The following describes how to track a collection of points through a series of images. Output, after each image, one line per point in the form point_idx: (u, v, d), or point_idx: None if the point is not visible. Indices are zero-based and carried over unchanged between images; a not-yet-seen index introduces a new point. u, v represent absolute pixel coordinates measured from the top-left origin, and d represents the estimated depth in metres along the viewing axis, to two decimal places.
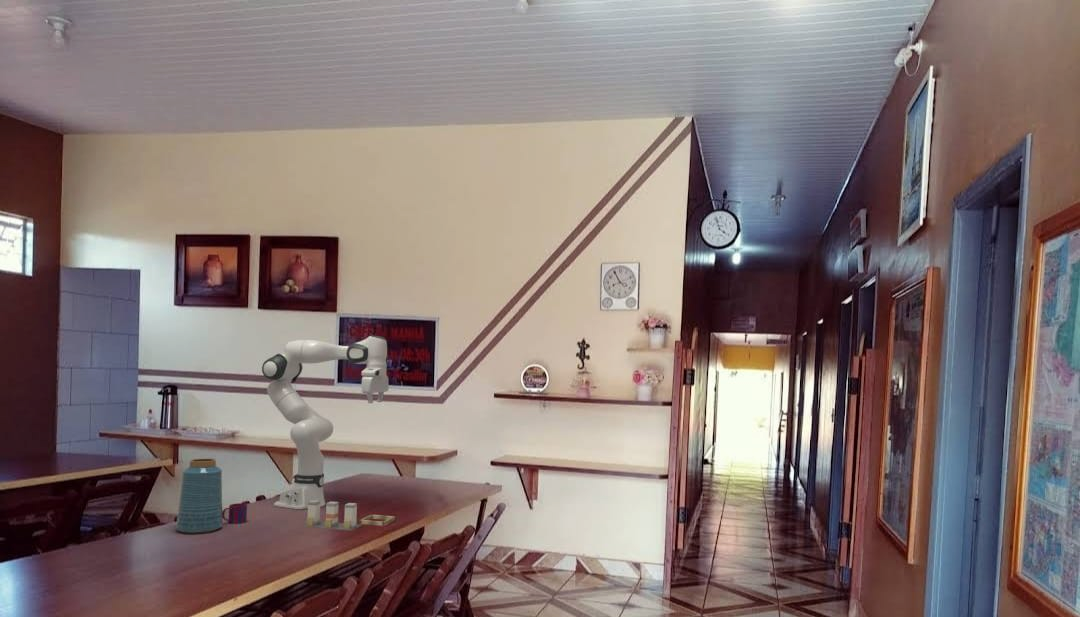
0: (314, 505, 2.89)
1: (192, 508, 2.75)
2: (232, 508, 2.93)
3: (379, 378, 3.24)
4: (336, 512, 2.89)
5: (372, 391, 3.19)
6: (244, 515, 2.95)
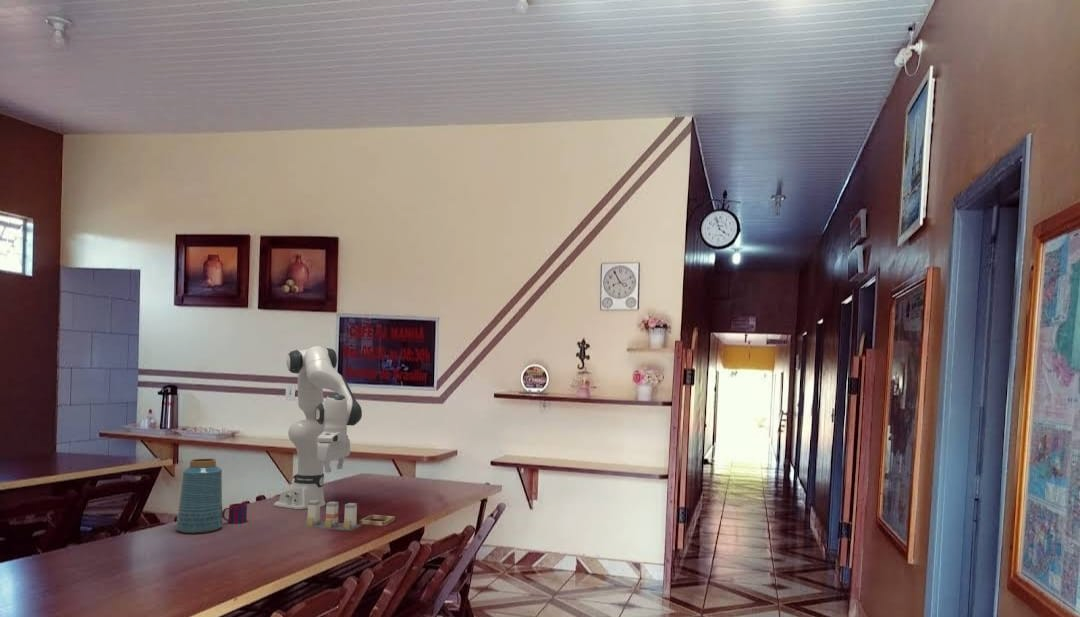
0: (314, 505, 2.89)
1: (192, 508, 2.75)
2: (232, 508, 2.93)
3: (338, 443, 2.88)
4: (336, 512, 2.89)
5: (329, 459, 2.83)
6: (244, 515, 2.95)
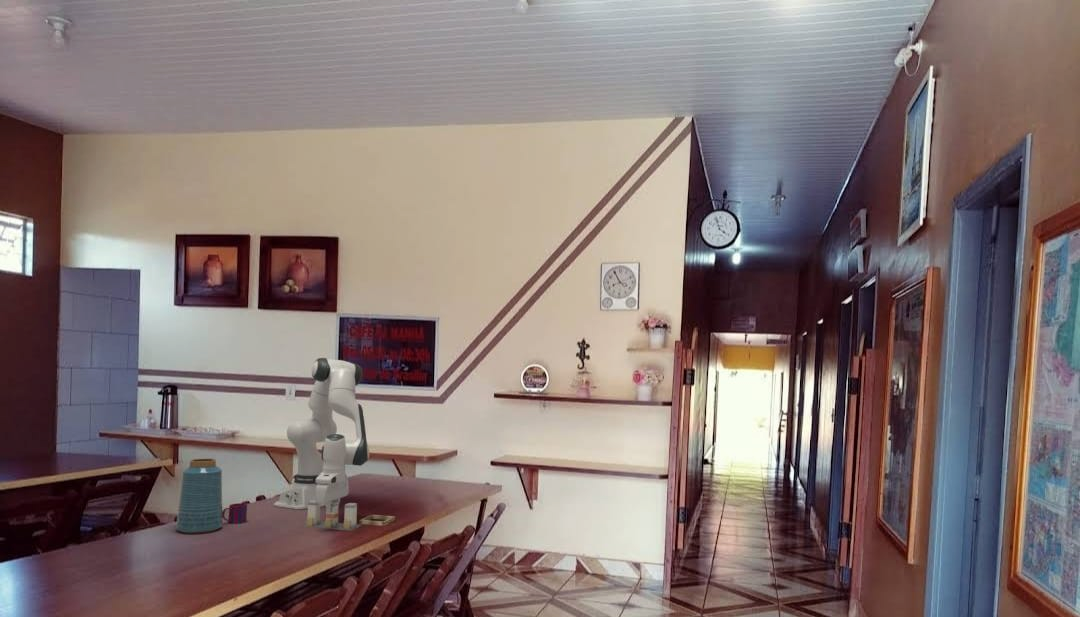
0: (314, 505, 2.89)
1: (192, 508, 2.75)
2: (232, 508, 2.93)
3: (337, 483, 2.87)
4: (336, 512, 2.89)
5: (328, 501, 2.82)
6: (244, 515, 2.95)
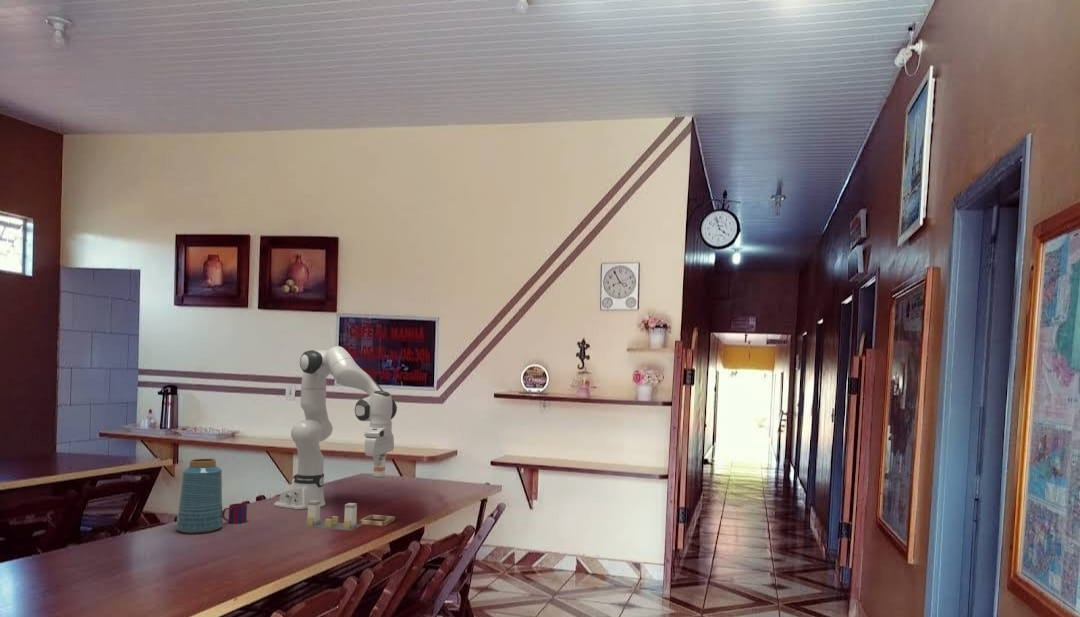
0: (314, 505, 2.89)
1: (192, 508, 2.75)
2: (232, 508, 2.93)
3: (384, 438, 2.97)
4: (383, 465, 2.98)
5: (376, 453, 2.91)
6: (244, 515, 2.95)
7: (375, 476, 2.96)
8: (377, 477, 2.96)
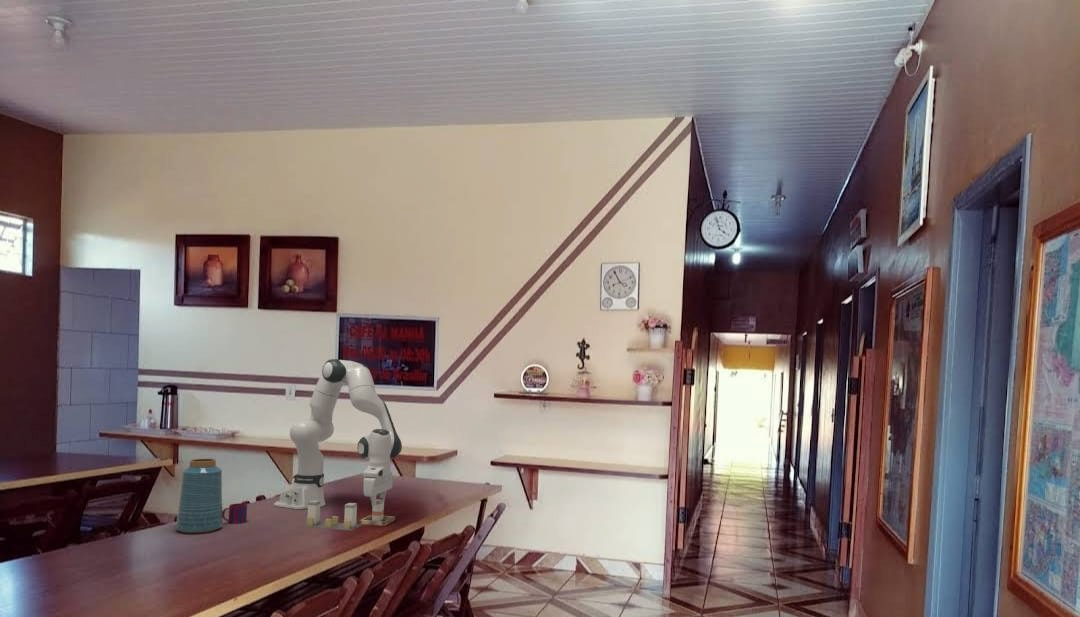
0: (314, 505, 2.89)
1: (192, 508, 2.75)
2: (232, 508, 2.93)
3: (383, 477, 2.96)
4: (382, 509, 2.97)
5: (375, 493, 2.91)
6: (244, 515, 2.95)
7: (374, 520, 2.95)
8: None
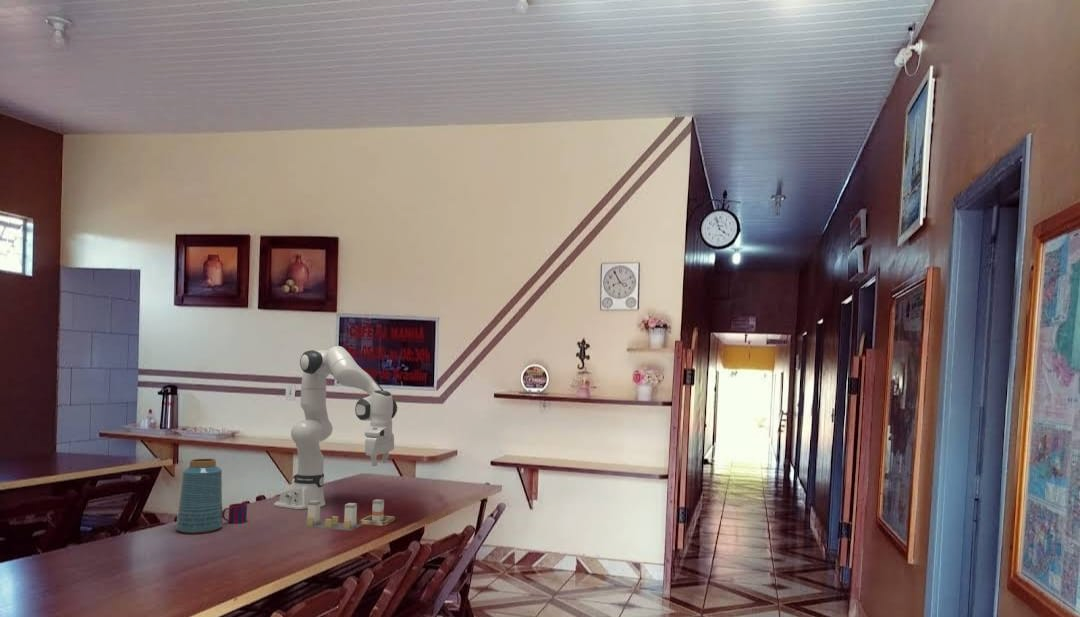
0: (314, 505, 2.89)
1: (192, 508, 2.75)
2: (232, 508, 2.93)
3: (384, 437, 2.97)
4: (382, 509, 2.97)
5: (376, 453, 2.91)
6: (244, 515, 2.95)
7: (374, 520, 2.95)
8: None
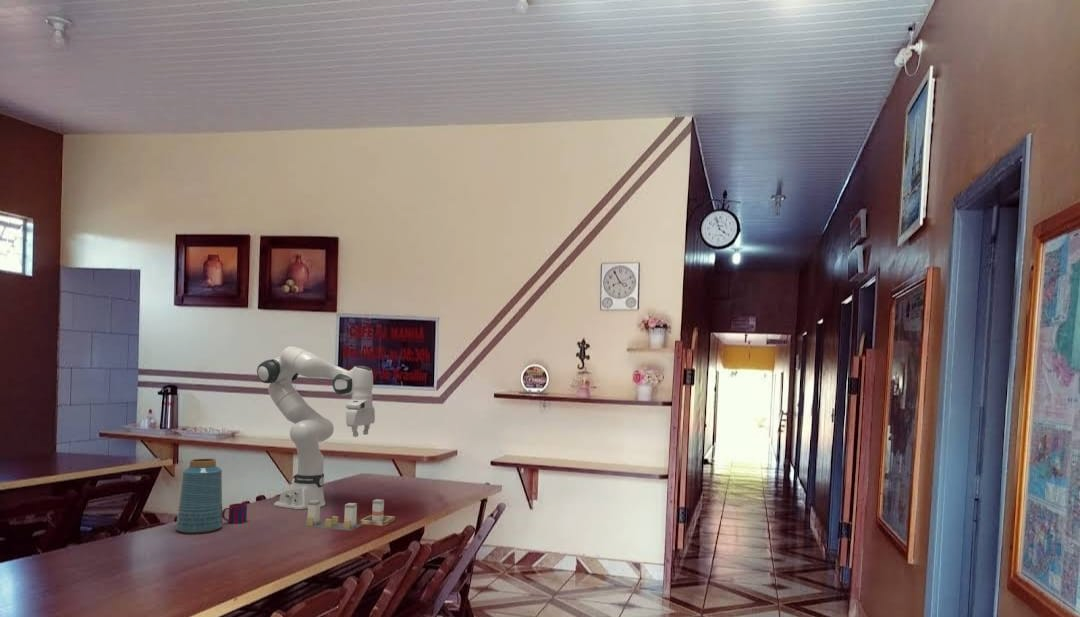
0: (314, 505, 2.89)
1: (192, 508, 2.75)
2: (232, 508, 2.93)
3: (365, 410, 3.12)
4: (382, 509, 2.97)
5: (357, 424, 3.07)
6: (244, 515, 2.95)
7: (374, 520, 2.95)
8: None
